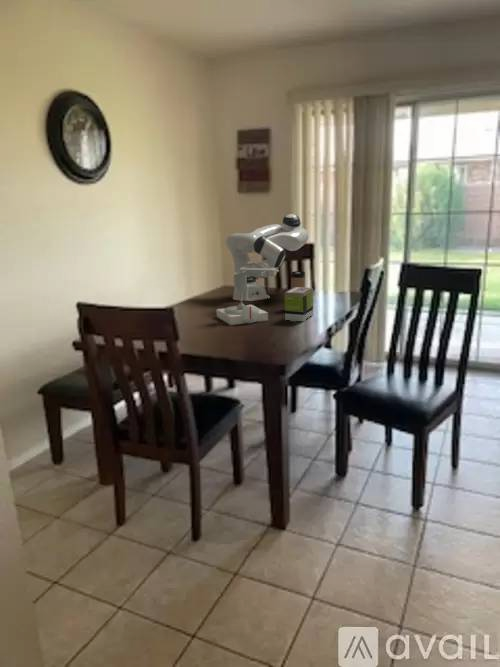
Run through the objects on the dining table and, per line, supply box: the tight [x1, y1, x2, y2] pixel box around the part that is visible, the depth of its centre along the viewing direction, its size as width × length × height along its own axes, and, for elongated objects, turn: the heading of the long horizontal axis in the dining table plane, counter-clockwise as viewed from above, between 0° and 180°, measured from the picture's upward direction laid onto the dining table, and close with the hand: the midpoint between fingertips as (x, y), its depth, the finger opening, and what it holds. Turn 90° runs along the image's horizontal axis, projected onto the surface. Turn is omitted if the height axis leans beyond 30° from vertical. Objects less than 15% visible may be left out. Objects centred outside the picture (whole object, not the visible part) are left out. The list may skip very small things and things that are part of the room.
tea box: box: [284, 286, 314, 322], centre depth 250 cm, size 15×10×15 cm
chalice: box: [233, 272, 247, 310], centre depth 250 cm, size 7×7×18 cm
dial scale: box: [216, 304, 269, 326], centre depth 252 cm, size 20×22×9 cm
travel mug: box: [290, 270, 306, 289], centre depth 271 cm, size 8×8×20 cm
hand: (251, 274), depth 258 cm, fingers open, 8 cm apart
